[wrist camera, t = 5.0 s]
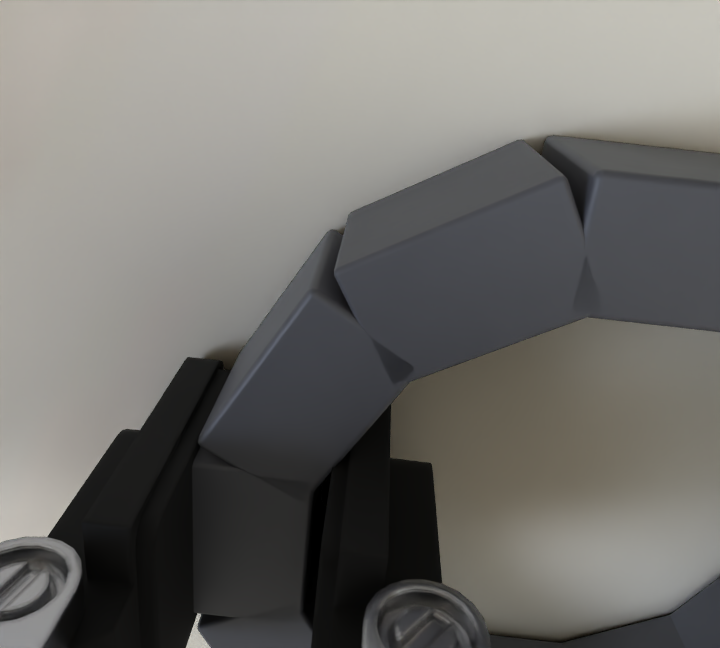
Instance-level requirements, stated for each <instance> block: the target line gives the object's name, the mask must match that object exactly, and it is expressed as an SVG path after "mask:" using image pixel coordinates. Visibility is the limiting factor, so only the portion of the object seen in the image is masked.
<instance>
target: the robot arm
mask: <svg viewBox="0 0 720 648" xmlns="http://www.w3.org/2000/svg"><path fill="white" fill-rule="evenodd" d="M230 372H231V370H224V366H223V362H222V361H219V360H210V359H201V358H192V357H188V358H187V359H186V360H185V361H184V363H183V364H182V366H181V367H180V369H179V371H178V372H177V374H176V375H175V377H174V378H173V380H172V381H171V383H170V385H169V386H168V388H167V389H166V391H165V392H164V394H163V396H162V397H161V399H160V400H159V402H158V403H157V405H156V406H155V408H154V410H153V411H152V413H151V414H150V416H149V417H148V419H147V421H146V422H145V424H144V425H143V427H142V428H141V430H131V429H125V430H122V431H121V432H120V433H119V434H118V435H117V437H116V438H115V439H114V441H113V442H112V444H111V445H110V447H109V448H108V450H107V451H106V453H105V454H104V455H103V457H102V458H101V460H100V461H99V463H98V464H97V466H96V467H95V468H94V470H93V471H92V473H91V474H90V476H89V477H88V479H87V480H86V482H85V483H84V484H83V486H82V487H81V489H80V490H79V492H78V493H77V495H76V496H75V497H74V499H73V500H72V502H71V503H70V505H69V506H68V508H67V509H66V511H65V512H64V513H63V515H62V516H61V518H60V519H59V521H58V522H57V524H56V525H55V527H54V528H53V529H52V531H51V532H50V534H49V535H48V537H22V538H17V539H12V540H6V541H3V542H1V543H0V648H186V645H187V642H188V639H189V636H190V633H191V630H192V627H193V624H194V622H195V619H196V616H197V613H194V604H193V495H192V466H193V461H194V459H195V457H196V455H197V453H198V451H199V449H200V445H199V444H198V440H199V435H200V433H201V431H202V429H203V427H204V425H205V423H206V421H207V419H208V417H209V415H210V413H211V411H212V409H213V407H214V405H215V403H216V401H217V398H218V396H219V394H220V392H221V390H222V388H223V386H224V384H225V382H226V380H227V378H228V376H229V374H230ZM390 422H391V404H390V405H389V406H388V408H387V409H386V410H385V411H384V412H383V413H382V414H381V416H380V417H379V418H378V419H377V420H376V421H375V422H374V424H373V425H372V426H371V427H370V428H369V429H368V430H367V432H366V433H365V434H364V435H363V436H362V437H361V438H360V440H359V441H358V442H357V443H356V444H355V445H354V446H353V448H352V449H351V450H350V451H349V452H348V453H347V454H346V455H345V457H344V458H343V459H342V460H341V461H340V462H339V463H338V465H337V466H336V467H332V473H331V480H330V487H329V494H328V500H327V507H326V514H325V521H324V528H323V535H322V542H321V551H320V559H319V569H318V579H317V589H316V600H315V610H314V621H313V631H312V642H311V648H491V642H490V635H489V632H488V629H487V626H486V623H485V620H484V618H483V616H482V615H481V614H480V612H479V611H478V610H477V608H476V607H475V605H474V604H473V603H472V602H471V601H469V600H468V599H467V598H466V597H464V596H463V595H462V594H461V593H460V592H458V591H456V590H454V589H452V588H450V587H448V586H446V585H444V584H442V577H441V565H440V553H439V540H438V528H437V516H436V504H435V492H434V480H433V470H432V464H431V463H427V462H418V461H409V460H401V459H392V458H390Z"/></svg>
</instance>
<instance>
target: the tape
mask: <svg viewBox="0 0 720 648" xmlns="http://www.w3.org/2000/svg"><path fill="white" fill-rule="evenodd" d="M586 317H590V318H599V319H608V320H617V321H626V322H635V323H644V324H653V325H661V326H670V327H679V328H688V329H697V330H706V331H715V332H720V154H717V153H708V152H699V151H690V150H681V149H672V148H663V147H654V146H645V145H636V144H627V143H618V142H609V141H600V140H591V139H582V138H573V137H564V136H555V135H553V136H549V137H547V139H546V140H545V142H544V146H543V151H542V156H541V155H540V154H539V153H538V152H536V151H535V150H534V149H533V148H532V147H531V146H529V145H528V144H527V143H526V142H525V141H523V140H517V141H515V142H513V143H510V144H508V145H506V146H503V147H501V148H499V149H496V150H494V151H492V152H489V153H487V154H485V155H483V156H480V157H478V158H476V159H473V160H471V161H469V162H466V163H464V164H462V165H459V166H457V167H455V168H452V169H450V170H448V171H446V172H443V173H441V174H439V175H436V176H434V177H432V178H429V179H427V180H425V181H422V182H420V183H418V184H415V185H413V186H411V187H409V188H406V189H404V190H402V191H399V192H397V193H395V194H392V195H390V196H388V197H385V198H383V199H381V200H378V201H376V202H374V203H372V204H369V205H367V206H365V207H362V208H360V209H358V210H355V211H353V212H351V213H350V214H349V215H348V219H347V223H346V226H345V230H344V234H343V235H342V234H340V233H339V232H337V231H335V230H330V231H328V232H327V233H326V234H325V236H324V237H323V239H322V240H321V241H320V243H319V244H318V246H317V247H316V248H315V250H314V251H313V252H312V254H311V255H310V257H309V258H308V259H307V261H306V262H305V263H304V265H303V266H302V268H301V269H300V270H299V272H298V273H297V274H296V276H295V277H294V279H293V280H292V281H291V283H290V284H289V286H288V287H287V288H286V290H285V291H284V292H283V294H282V295H281V297H280V298H279V299H278V301H277V302H276V303H275V305H274V306H273V308H272V309H271V310H270V312H269V313H268V314H267V316H266V317H265V319H264V320H263V321H262V323H261V324H260V326H259V327H258V328H257V330H256V331H255V332H254V334H253V335H252V337H251V338H250V339H249V341H248V342H247V343H246V345H245V346H244V348H243V349H242V350H241V352H240V353H239V355H238V357H237V359H236V362H235V364H234V366H233V368H232V370H231V372H230V374H229V376H228V378H227V380H226V382H225V384H224V386H223V388H222V390H221V392H220V394H219V396H218V398H217V401H216V403H215V405H214V407H213V409H212V411H211V413H210V415H209V417H208V419H207V421H206V423H205V425H204V427H203V429H202V431H201V433H200V435H199V440H198V444H199V445H200V449H199V451H198V453H197V455H196V457H195V459H194V461H193V466H192V495H193V604H194V613H200V614H201V617H200V620H199V623H198V631H199V632H200V634H201V635H202V636H203V638H204V639H205V640H206V642H207V643H208V644H209V646H210V647H211V648H311V642H312V631H313V621H314V610H315V600H316V589H317V579H318V569H319V559H320V551H321V542H322V535H323V528H324V521H325V514H326V506H325V504H324V502H323V501H322V499H321V498H322V487H323V481H324V479H325V478H326V477H327V476H328V475H329V474H330V473H331V471H332V467H336V466H337V465H338V463H339V462H340V461H341V460H342V459H343V458H344V457H345V455H346V454H347V453H348V452H349V451H350V450H351V449H352V448H353V446H354V445H355V444H356V443H357V442H358V441H359V440H360V438H361V437H362V436H363V435H364V434H365V433H366V432H367V430H368V429H369V428H370V427H371V426H372V425H373V424H374V422H375V421H376V420H377V419H378V418H379V417H380V416H381V414H382V413H383V412H384V411H385V410H386V409H387V408H388V406H389V405H390V404H391V403H392V402H393V401H394V400H395V398H396V397H397V396H398V395H399V394H400V393H401V392H402V390H403V389H404V388H405V387H406V386H407V385H408V384H409V382H411V381H413V380H416V379H419V378H422V377H424V376H427V375H430V374H433V373H435V372H438V371H441V370H444V369H446V368H449V367H452V366H454V365H457V364H460V363H463V362H465V361H468V360H471V359H474V358H476V357H479V356H482V355H485V354H487V353H490V352H493V351H496V350H498V349H501V348H504V347H507V346H509V345H512V344H515V343H518V342H520V341H523V340H526V339H529V338H531V337H534V336H537V335H539V334H542V333H545V332H548V331H550V330H553V329H556V328H559V327H561V326H564V325H567V324H570V323H572V322H575V321H578V320H581V319H583V318H586ZM490 642H491V648H720V577H719V578H718V579H717V580H715V581H714V582H713V583H711V584H710V585H709V586H707V587H706V588H705V589H703V590H702V591H701V592H699V593H698V594H697V595H695V596H694V597H693V598H691V599H690V600H689V601H688V602H686V603H685V604H684V605H682V606H681V607H680V608H678V609H677V610H676V611H674V612H673V613H672V614H670V615H667V616H663V617H659V618H655V619H651V620H648V621H644V622H640V623H636V624H632V625H628V626H624V627H621V628H617V629H613V630H609V631H605V632H601V633H598V634H594V635H590V636H586V637H582V638H578V639H575V640H571V641H567V642H563V643H556V642H547V641H538V640H529V639H521V638H512V637H503V636H495V635H490Z"/></svg>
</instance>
